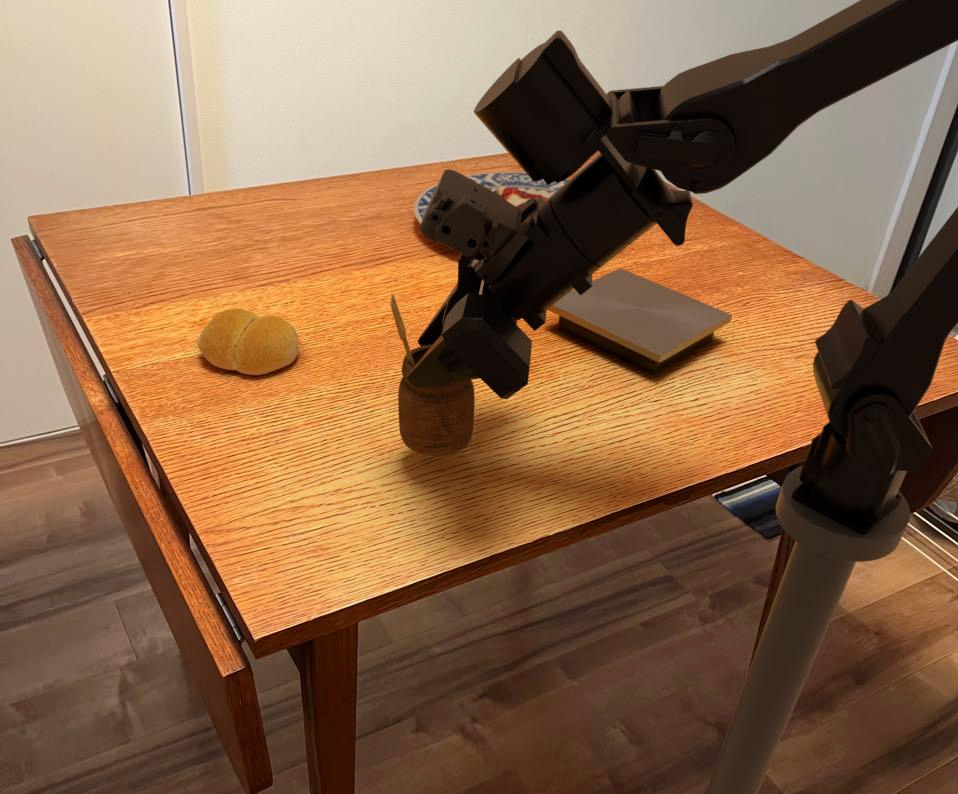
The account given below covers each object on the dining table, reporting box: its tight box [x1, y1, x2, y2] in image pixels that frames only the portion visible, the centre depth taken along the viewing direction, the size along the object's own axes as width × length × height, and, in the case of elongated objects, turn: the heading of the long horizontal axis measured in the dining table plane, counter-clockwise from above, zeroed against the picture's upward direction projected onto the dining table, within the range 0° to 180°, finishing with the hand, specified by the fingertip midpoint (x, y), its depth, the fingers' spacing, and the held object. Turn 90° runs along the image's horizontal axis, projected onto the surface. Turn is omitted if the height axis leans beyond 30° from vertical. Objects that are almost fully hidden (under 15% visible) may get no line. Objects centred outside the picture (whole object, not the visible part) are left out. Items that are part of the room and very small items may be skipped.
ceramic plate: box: [413, 171, 570, 225], centre depth 111 cm, size 26×26×3 cm
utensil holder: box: [389, 293, 476, 457], centre depth 69 cm, size 6×6×12 cm
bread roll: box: [197, 307, 300, 376], centre depth 86 cm, size 8×9×4 cm
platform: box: [547, 267, 733, 376], centre depth 92 cm, size 14×12×3 cm
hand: (416, 363), depth 69 cm, fingers closed on utensil holder, 5 cm apart
